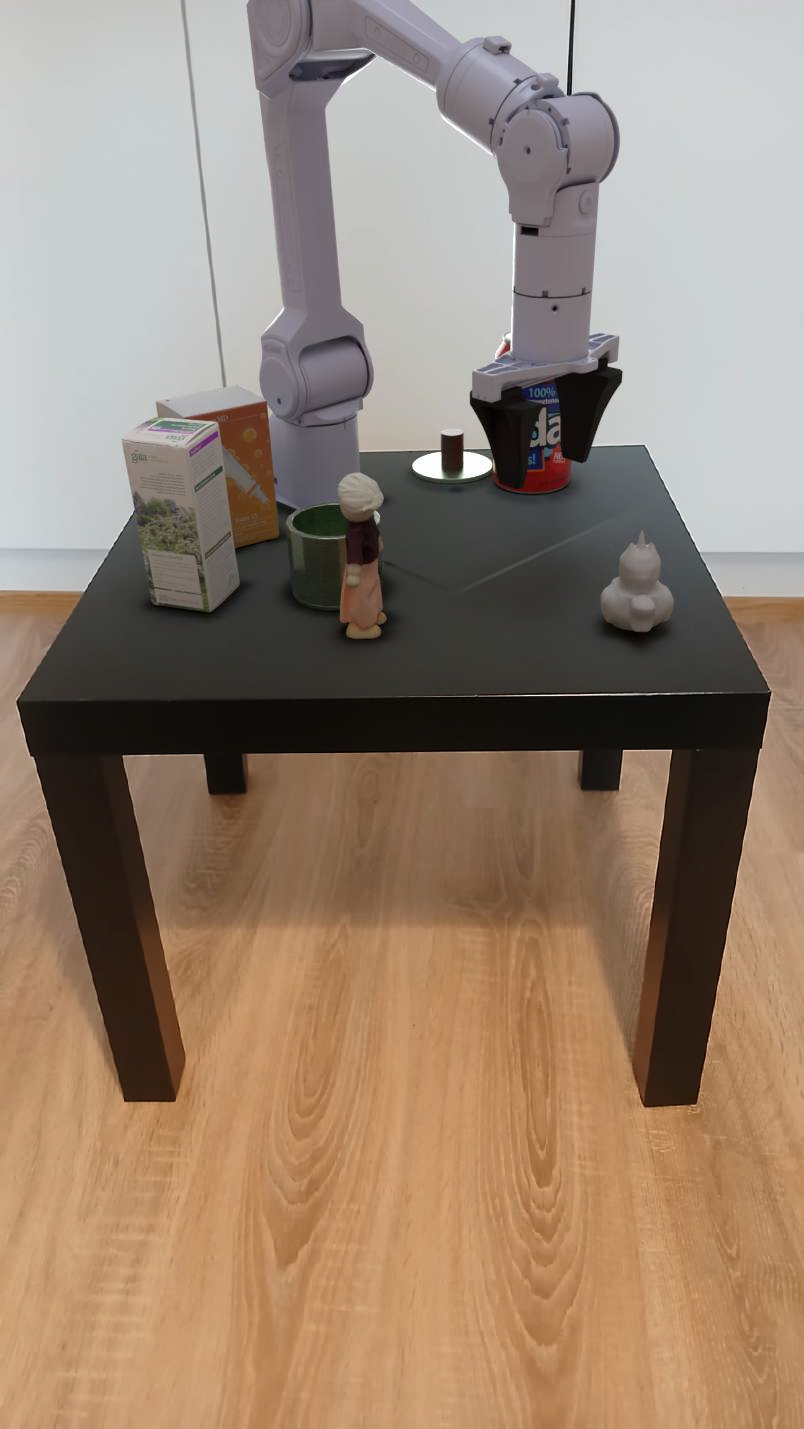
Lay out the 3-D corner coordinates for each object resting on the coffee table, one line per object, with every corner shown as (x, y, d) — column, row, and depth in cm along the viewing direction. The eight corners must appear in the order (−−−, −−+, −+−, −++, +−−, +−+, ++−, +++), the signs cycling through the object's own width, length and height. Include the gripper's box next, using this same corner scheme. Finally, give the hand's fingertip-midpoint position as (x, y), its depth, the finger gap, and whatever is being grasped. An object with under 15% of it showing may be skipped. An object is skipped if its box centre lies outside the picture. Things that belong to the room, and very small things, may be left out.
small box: (202, 559, 95) (182, 417, 88) (174, 537, 100) (153, 399, 93) (282, 537, 99) (268, 398, 92) (251, 516, 103) (236, 382, 96)
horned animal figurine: (661, 609, 85) (672, 515, 80) (677, 650, 79) (690, 552, 75) (593, 610, 85) (601, 517, 81) (605, 651, 79) (613, 553, 75)
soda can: (573, 474, 110) (582, 325, 102) (566, 503, 104) (575, 346, 96) (499, 471, 112) (502, 324, 104) (487, 498, 106) (489, 344, 97)
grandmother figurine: (344, 606, 87) (334, 457, 80) (391, 606, 87) (385, 456, 80) (336, 653, 80) (325, 495, 73) (386, 653, 80) (380, 494, 73)
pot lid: (396, 475, 112) (394, 432, 109) (452, 455, 116) (451, 414, 114) (452, 495, 106) (452, 451, 104) (508, 473, 111) (510, 430, 109)
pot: (274, 590, 90) (267, 520, 86) (342, 563, 94) (338, 494, 90) (332, 620, 85) (326, 546, 81) (401, 589, 89) (398, 518, 86)
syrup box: (242, 585, 91) (221, 418, 83) (210, 616, 86) (184, 442, 78) (183, 577, 92) (157, 412, 84) (149, 607, 88) (117, 436, 80)
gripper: (527, 316, 69) (520, 511, 77) (658, 280, 77) (640, 460, 85) (450, 301, 74) (451, 487, 81) (582, 268, 82) (572, 440, 89)
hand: (543, 472), depth 83 cm, fingers open, 7 cm apart
